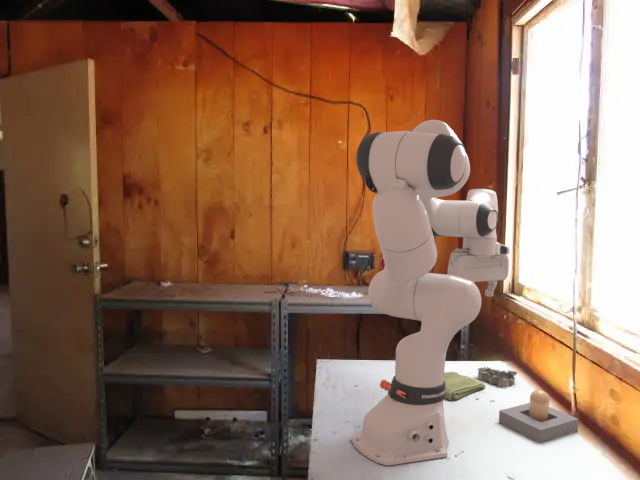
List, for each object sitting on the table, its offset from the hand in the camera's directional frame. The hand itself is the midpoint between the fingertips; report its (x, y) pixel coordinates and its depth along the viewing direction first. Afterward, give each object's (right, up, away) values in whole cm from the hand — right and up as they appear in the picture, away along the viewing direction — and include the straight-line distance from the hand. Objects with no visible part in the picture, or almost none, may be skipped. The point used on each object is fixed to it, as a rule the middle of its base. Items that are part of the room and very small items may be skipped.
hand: (476, 297), depth 137 cm
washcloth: (-4, -29, +10) cm, 31 cm away
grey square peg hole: (+11, -31, -14) cm, 35 cm away
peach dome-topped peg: (+11, -30, -14) cm, 35 cm away
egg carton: (+11, -29, +17) cm, 35 cm away
